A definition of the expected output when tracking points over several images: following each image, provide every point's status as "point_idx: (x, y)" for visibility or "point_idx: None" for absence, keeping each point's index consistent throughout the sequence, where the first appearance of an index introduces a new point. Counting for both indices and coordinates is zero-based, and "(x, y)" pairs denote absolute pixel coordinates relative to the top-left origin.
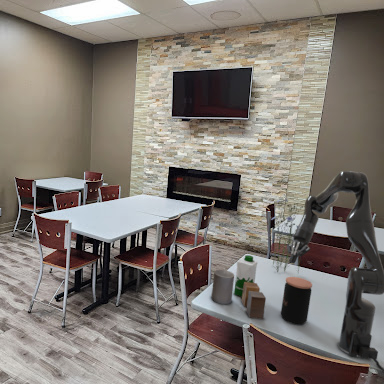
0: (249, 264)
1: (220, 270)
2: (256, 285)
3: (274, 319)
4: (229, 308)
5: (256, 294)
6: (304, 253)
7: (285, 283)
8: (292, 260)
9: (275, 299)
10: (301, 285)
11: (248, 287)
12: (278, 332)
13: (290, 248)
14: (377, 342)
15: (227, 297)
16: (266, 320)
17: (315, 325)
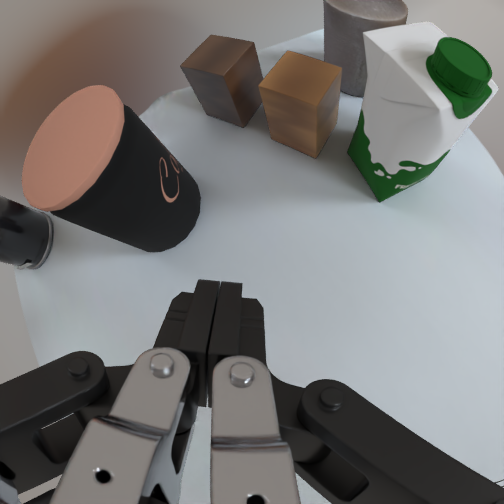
0: (381, 33)
1: (397, 4)
2: (290, 89)
3: (190, 146)
4: None
5: (216, 50)
6: (39, 435)
7: (130, 111)
8: (190, 296)
9: (311, 274)
10: (46, 125)
11: (283, 55)
12: (143, 117)
13: (383, 495)
14: (32, 339)
15: (324, 53)
16: (196, 119)
17: (113, 254)
